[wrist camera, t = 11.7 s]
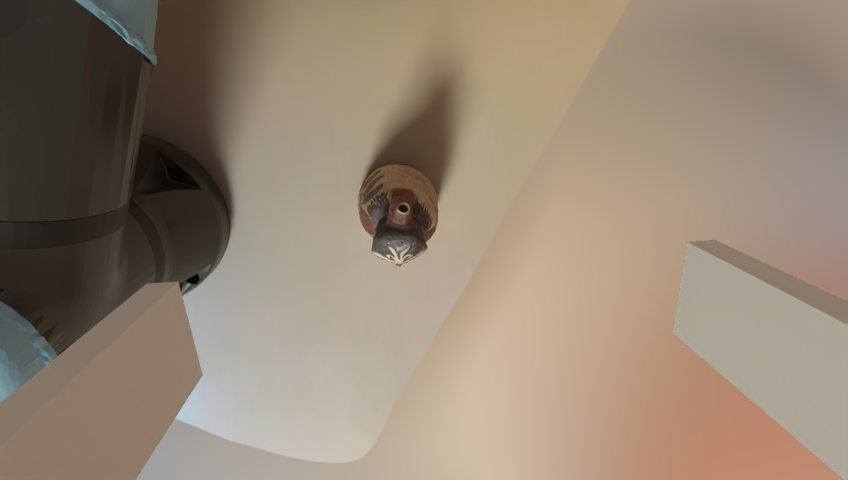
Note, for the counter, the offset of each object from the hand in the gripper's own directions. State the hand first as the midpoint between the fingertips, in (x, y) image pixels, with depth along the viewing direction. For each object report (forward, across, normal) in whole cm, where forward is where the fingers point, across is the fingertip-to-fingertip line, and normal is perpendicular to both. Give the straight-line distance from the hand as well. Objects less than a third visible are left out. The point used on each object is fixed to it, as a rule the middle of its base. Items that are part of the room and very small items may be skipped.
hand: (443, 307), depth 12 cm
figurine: (+30, -1, -4) cm, 30 cm away
